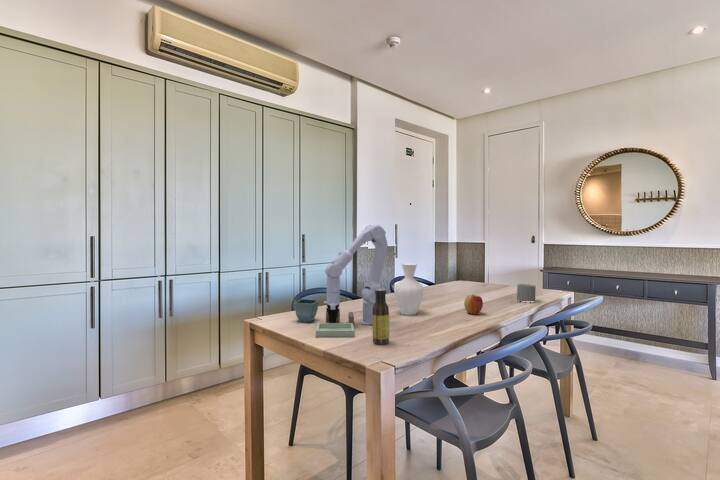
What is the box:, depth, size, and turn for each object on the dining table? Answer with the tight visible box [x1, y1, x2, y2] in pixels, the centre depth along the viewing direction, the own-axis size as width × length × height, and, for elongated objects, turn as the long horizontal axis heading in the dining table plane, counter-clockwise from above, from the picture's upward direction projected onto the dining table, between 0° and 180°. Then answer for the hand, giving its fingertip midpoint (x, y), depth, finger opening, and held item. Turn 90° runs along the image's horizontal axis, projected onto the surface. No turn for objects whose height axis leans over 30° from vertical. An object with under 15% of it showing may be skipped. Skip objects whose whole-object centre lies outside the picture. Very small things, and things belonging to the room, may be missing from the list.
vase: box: [394, 262, 424, 316], centre depth 187 cm, size 14×14×25 cm
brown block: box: [325, 310, 341, 323], centre depth 161 cm, size 6×6×6 cm
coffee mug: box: [516, 283, 536, 302], centre depth 223 cm, size 13×10×10 cm
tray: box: [315, 322, 355, 338], centre depth 151 cm, size 15×12×2 cm
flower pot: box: [294, 298, 320, 323], centre depth 170 cm, size 9×9×9 cm
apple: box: [463, 294, 484, 315], centre depth 188 cm, size 9×9×10 cm
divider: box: [347, 311, 355, 327], centre depth 162 cm, size 2×8×5 cm, turn 4°
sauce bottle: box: [372, 288, 390, 345], centre depth 139 cm, size 6×6×20 cm
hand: (332, 322), depth 162 cm, fingers closed on brown block, 6 cm apart
